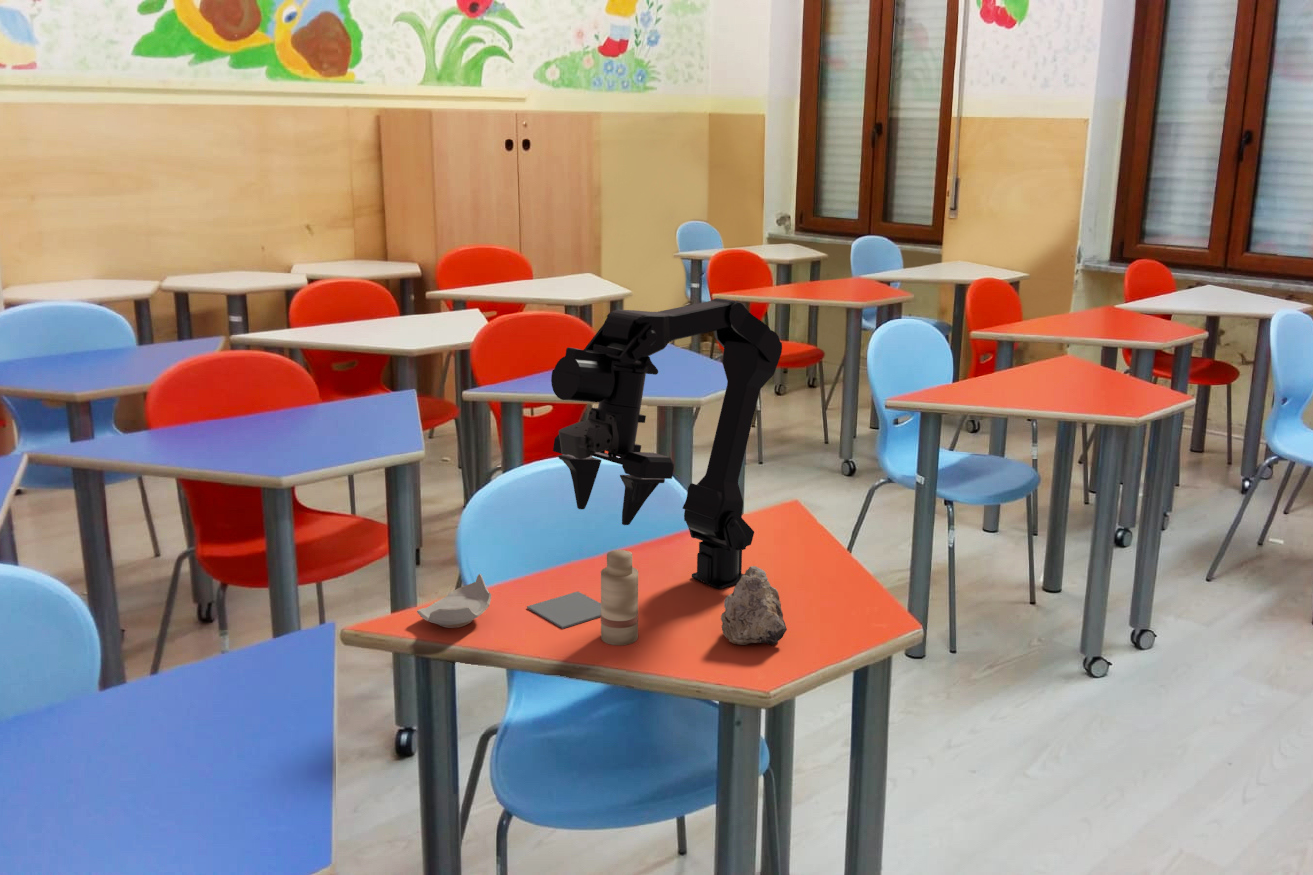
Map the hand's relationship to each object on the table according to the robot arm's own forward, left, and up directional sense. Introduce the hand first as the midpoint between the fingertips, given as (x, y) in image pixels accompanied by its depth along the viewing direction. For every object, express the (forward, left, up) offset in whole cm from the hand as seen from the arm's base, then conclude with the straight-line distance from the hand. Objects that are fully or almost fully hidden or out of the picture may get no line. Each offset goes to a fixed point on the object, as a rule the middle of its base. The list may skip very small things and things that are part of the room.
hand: (602, 516), depth 152 cm
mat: (+1, -6, -16) cm, 17 cm away
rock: (-13, +16, -16) cm, 26 cm away
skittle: (+1, +5, -16) cm, 17 cm away
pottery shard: (+16, -13, -16) cm, 26 cm away
